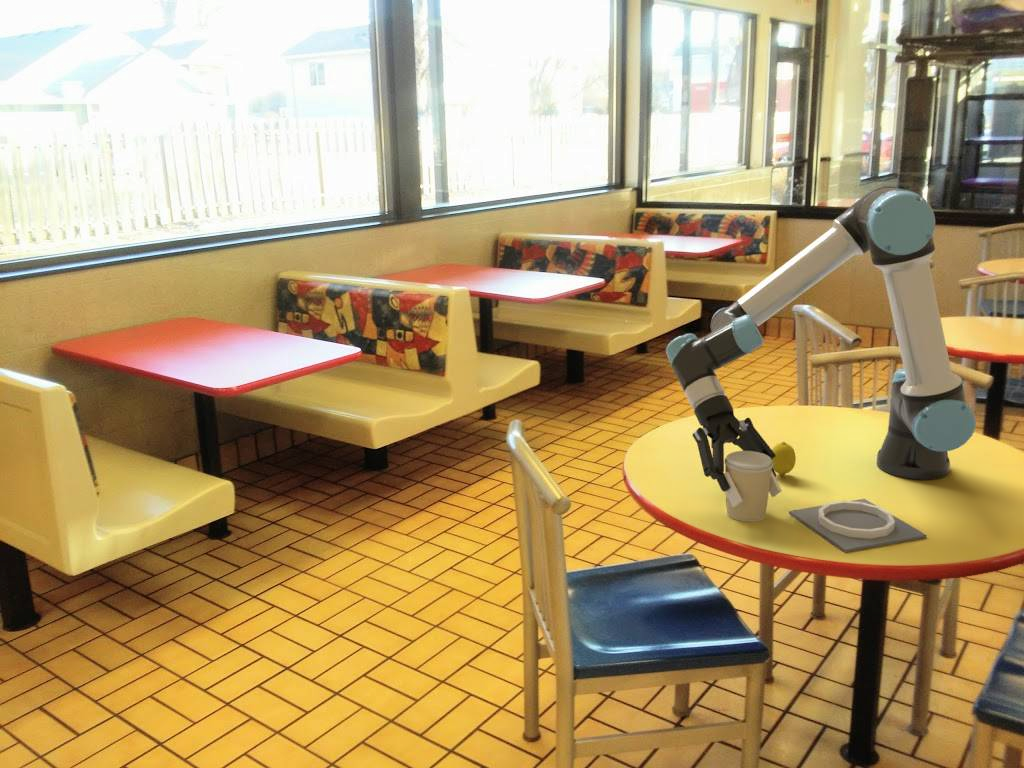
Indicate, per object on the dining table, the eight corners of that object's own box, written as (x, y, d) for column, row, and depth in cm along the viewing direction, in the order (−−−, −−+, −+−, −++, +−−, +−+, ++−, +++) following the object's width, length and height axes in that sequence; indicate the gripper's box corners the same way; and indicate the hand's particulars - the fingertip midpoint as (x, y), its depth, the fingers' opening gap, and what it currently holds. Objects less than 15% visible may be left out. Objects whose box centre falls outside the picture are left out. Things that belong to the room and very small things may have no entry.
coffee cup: (734, 500, 188) (737, 446, 184) (777, 511, 182) (780, 456, 179) (714, 515, 181) (716, 460, 177) (757, 527, 175) (761, 470, 172)
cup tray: (864, 501, 186) (865, 491, 185) (926, 537, 169) (927, 527, 168) (788, 513, 181) (789, 504, 180) (844, 552, 164) (845, 542, 164)
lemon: (767, 478, 199) (769, 444, 196) (769, 469, 204) (771, 436, 201) (793, 481, 197) (796, 447, 194) (795, 472, 202) (797, 439, 199)
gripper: (741, 403, 194) (789, 495, 185) (658, 419, 185) (704, 518, 176) (759, 385, 188) (810, 480, 179) (674, 402, 179) (723, 503, 170)
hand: (757, 499), depth 177 cm, fingers open, 9 cm apart
